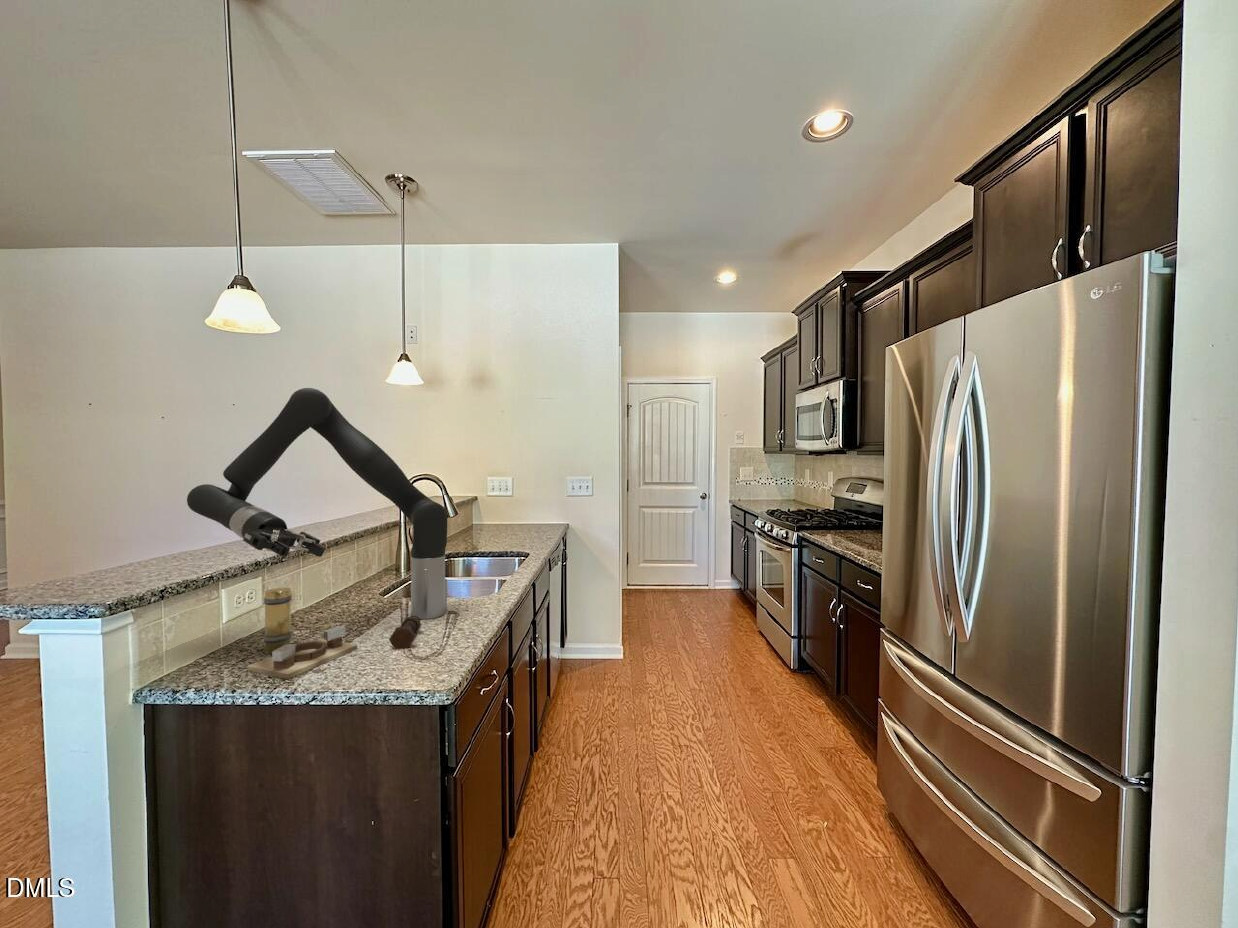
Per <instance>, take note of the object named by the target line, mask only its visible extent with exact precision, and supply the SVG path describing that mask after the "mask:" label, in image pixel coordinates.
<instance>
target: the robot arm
mask: <svg viewBox="0 0 1238 928" xmlns="http://www.w3.org/2000/svg"><path fill="white" fill-rule="evenodd" d="M309 429H312V430H314V431H315V432H316V433H317V434H318V435H320V436H321V437H322V438H323V439H325V440H326V441H327V442H328V443H329V444H330V445H331V447H333V449H334V450H335V451H336V453H337V454H338V455H339V457H341V459H342V460H343V461H344V462H345V464H346V465H347V466H348V467H349V468H350V469H351V470H352V471H353V472H355V474H356V475H358V476H359V477H360V478H361V479H362V480H363V482H365V483H366V484H367V485H368V486H370V487H371V488H373V489H374V490H376V491H377V492H378V493H379V494H380V495H382V496H384V497H385V498H387V499H388V500H389V501H391V502H392V503H393V504H394V505H395V506H396V507H397V508H398V509H399V510H400V511H401V512H402V513H403V515H404V516H405V517H406V518H407V520H408V521H409V522H410V523H411V524H412V533H413V534H412V546H411V550H410V551H411V553H410V555H411V558H410V560H411V563H410V564H411V566H410V569H411V571H410V572H411V573H410V575H411V576H410V578H411V579H410V582H411V583H410V586H411V587H410V602H411V603H410V616H417V617H418V618H420V620H428V619H429V620H430V619H436V618H439V617H441V616H443V615H445V613H446V612H447V611H448V579H446V549H447V544H448V513H447V510H446V508H445V507H444V506H443V505H442V504H440V503H438V502H436V501H434V500H432V499H431V498H429V497H428V496H426V495H425V494H424V493H423V492H422V491H420V490H419V489H418V488H417V487H415V486H414V484H413V483H412V482H411V481H410V480H409V478H408V477H407V475H406V474H405V473H404V471H403V470H402V469H401V467H399V465H398V464H397V462H396V461H394V459H392V457H391V456H389V454H387V452H385V451H384V449H382V448H381V447H380V446H379V445H378V444H377V443H376V442H374V441H373V440H372V439H371V438H370V437H368V436H367V435H365V434H364V433H363V432H361V431H360V430H359V429H357V428H356V427H355V426H354V425H352V424H351V422H349V421H348V420H347V419H346V418H345V416H344V415H343V414H342V413H341V412H340V411H339V410H338V408H336V406H335V405H334V404H333V402H332V401H331V400H330V398H329V397H328V396H327V395H326V393H324V392H322V391H321V390H320V389H316V388H313V387H303V388H299V389H298V390H296V391H294V392H293V393H292V394H291V396H290V398H289V399H288V401H287V403H286V404H285V405H284V407H283V408H282V409H281V411H280V413H278V415H277V417H276V418H275V419H274V420H273V421H272V422H271V423H270V424H269V426H268V427H267V428H265V430H264V431H263V432H262V433H260V435H259V436H257V438H256V439H255V440H253V442H252V443H250V444H249V445H248V446H247V447H246V448H245V449H244V450H243V451H242V452H241V453H240V454H239V455H238V456H237V457H236V458H235V459H234V460H232V462H230V464H229V465H227V467H226V468H225V469H224V470H223V472H222V475H223V477H224V479H225V480H227V481H228V482H229V483H230V487H229V488H228V490H226V489H223V488H221V487H219V486H217V485H214V484H208V483H207V484H200V485H197V486H195V487H193V488H192V489H191V490H190V491H189V492H188V494H187V497H186V503H187V506H188V508H189V509H190V511H192V512H194V513H196V514H198V515H200V516H202V517H205V518H207V519H210V520H212V521H215V522H217V523H219V524H221V525H222V526H223V527H225V528H226V529H228V530H229V531H232V532H233V533H235V534H236V535H237V536H238V537H240V538H241V539H242V540H243V542H245V543H247V544H248V545H249V546H251V547H253V548H254V549H255V550H257V551H262V550H263V549H265V550H266V551H268V552H273V553H275V554H277V555H278V556H280V557H282V558H285V557H288V556H289V553H290V550H295V551H299V550H304V551H307V552H308V553H311V554H312V555H314V556H316V557H318V558H319V557H320V558H321V557H322V556H323V554H324V552H325V546H324V547H323V546H322V545H320V543H321V540H320V539H318V538H317V537H314V536H313V535H311V534H309V533H307V532H305V531H300V532H299V533H297V532H295V531H293V530H290V529H289V528H288V526H287V525H288V524H287V523H286V521H285V520H284V519H283V518H280V517H279V516H277V515H275V514H273V513H271V512H269V511H267V510H265V509H263V508H261V507H258V506H255V505H253V504H252V503H250V502H248V501H247V499H248V497H249V496H250V493H251V492H252V490H253V489H254V487H255V485H256V484H257V483H258V482H259V481H261V479H262V478H263V477H264V476H265V475H266V474H267V473H268V472H269V471H270V470H271V469H272V467H273V466H274V465H276V463H277V462H278V461H279V460H280V458H281V457H282V456H283V454H284V453H285V452H286V451H287V449H289V447H290V446H291V445H292V444H293V443H294V441H295V440H297V439H298V438H299V437H300V436H301V435H302V434H304V433H305V432H306V431H307V430H309ZM295 543H297V545H295Z"/></svg>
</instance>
